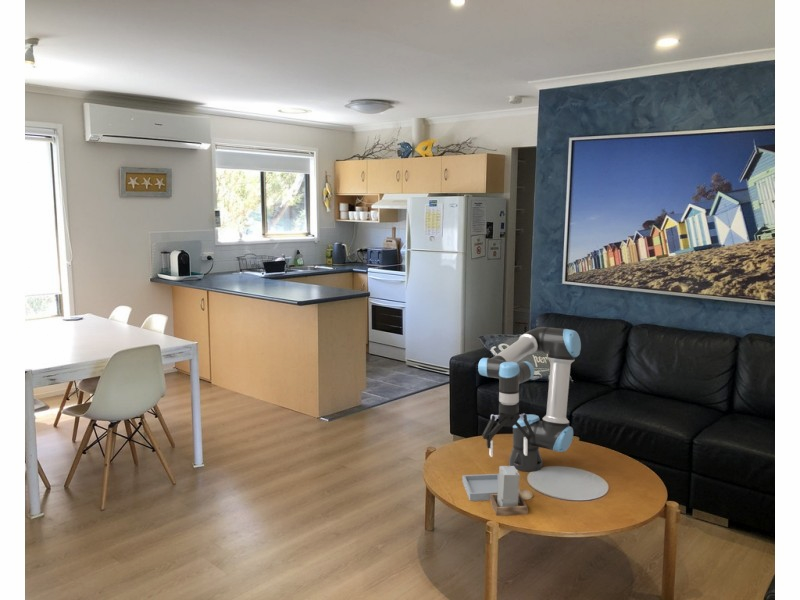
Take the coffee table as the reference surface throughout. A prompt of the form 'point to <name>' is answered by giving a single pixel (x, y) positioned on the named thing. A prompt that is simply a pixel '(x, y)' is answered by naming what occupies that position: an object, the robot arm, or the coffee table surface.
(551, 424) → the robot arm
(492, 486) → the tray
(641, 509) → the coffee table surface
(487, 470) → the coffee table surface
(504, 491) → the skincare box
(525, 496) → the curved potato chip
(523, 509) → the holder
